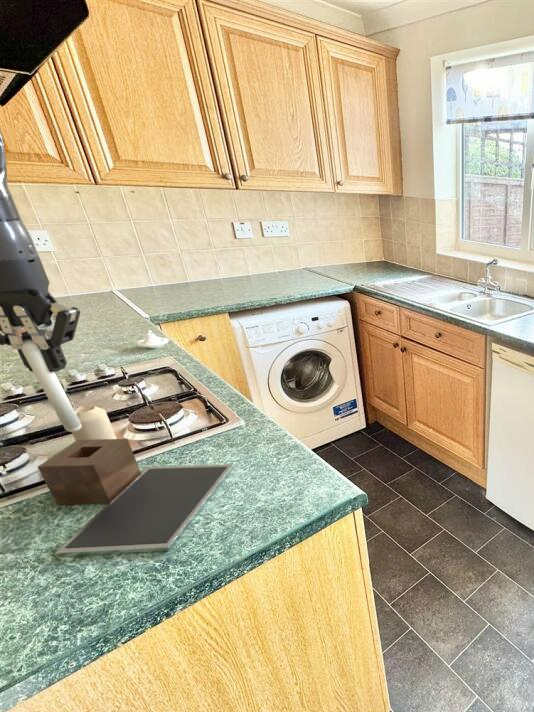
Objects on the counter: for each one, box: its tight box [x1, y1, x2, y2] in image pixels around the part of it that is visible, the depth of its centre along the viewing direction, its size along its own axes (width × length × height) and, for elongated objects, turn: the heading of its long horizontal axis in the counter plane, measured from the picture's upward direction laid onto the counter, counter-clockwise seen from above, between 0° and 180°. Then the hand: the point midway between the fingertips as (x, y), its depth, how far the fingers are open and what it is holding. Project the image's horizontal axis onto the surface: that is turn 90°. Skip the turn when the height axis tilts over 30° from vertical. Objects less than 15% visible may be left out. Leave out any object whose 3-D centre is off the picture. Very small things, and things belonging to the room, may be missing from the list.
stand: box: [37, 438, 142, 507], centre depth 73 cm, size 8×8×8 cm
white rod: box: [21, 342, 82, 433], centre depth 65 cm, size 2×2×16 cm
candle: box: [71, 404, 118, 442], centre depth 82 cm, size 6×6×10 cm
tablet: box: [54, 463, 235, 558], centre depth 71 cm, size 15×21×1 cm
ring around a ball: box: [136, 330, 169, 349], centre depth 134 cm, size 8×6×8 cm
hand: (48, 369), depth 65 cm, fingers closed on white rod, 2 cm apart
